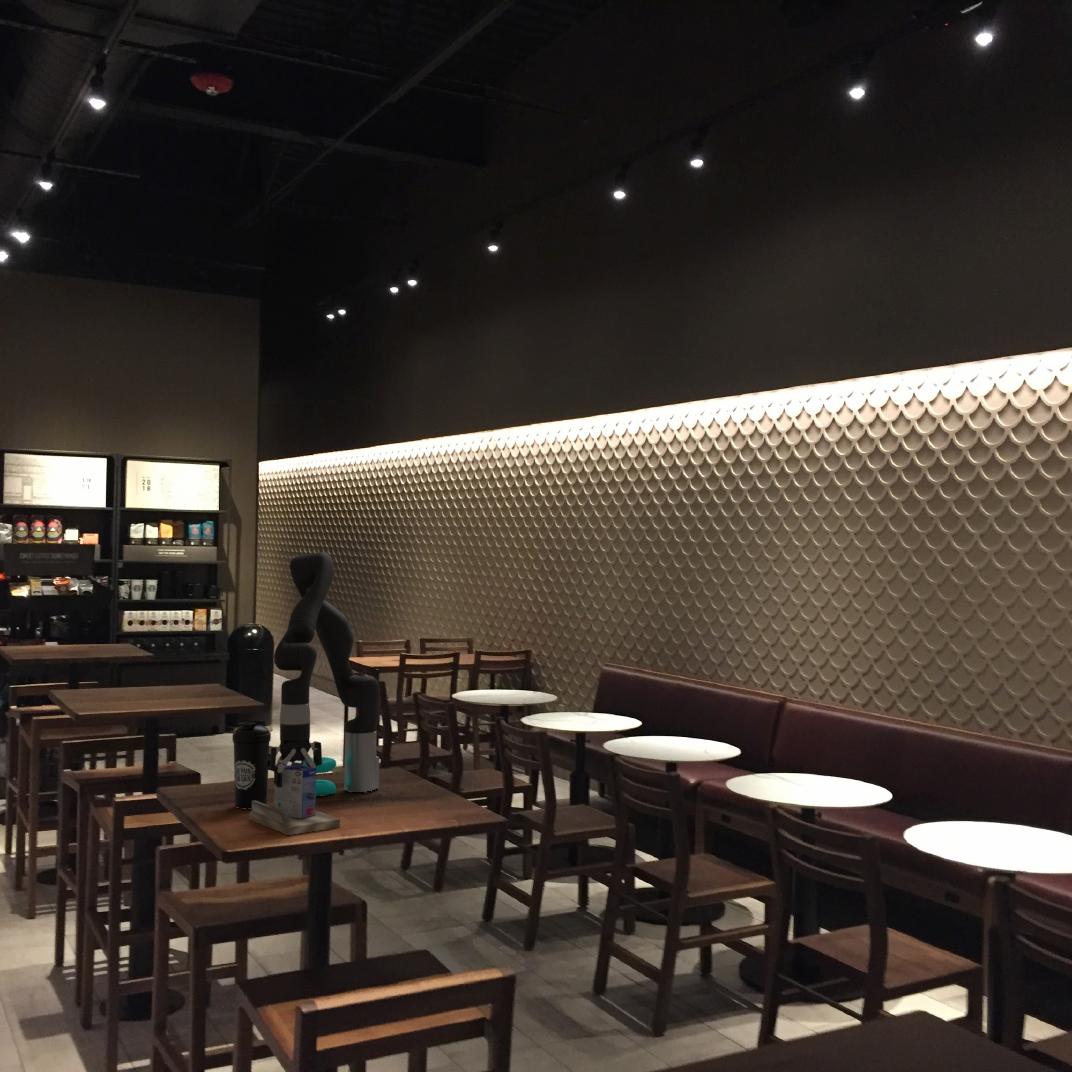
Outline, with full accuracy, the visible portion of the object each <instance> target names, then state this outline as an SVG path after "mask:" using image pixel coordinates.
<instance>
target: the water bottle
mask: <svg viewBox="0 0 1072 1072" xmlns="http://www.w3.org/2000/svg"><path fill="white" fill-rule="evenodd" d="M237 724H238V727H237V728H236V729H235V731H234V732H233V733H232V738H231V739H232V743H233V766H234V767H233V772H234V773H233V776H234V780H233V781H234V807H235V806H236V807H239V808H246V809H245V810H249V809H248V808H251V809H250V810H252V801H254V800H256V801H259V802H261V803H264V804H266V805H268V791H269V790H268V789H269V787H268V785H269V770H268V769H267V754H268V747H269V746H270V742H271V740H272V733H271V732H270V730H269V728H268V727H267V726H266V721H265V720H260V719H253V720H250V722H239V723H237Z"/></svg>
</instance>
